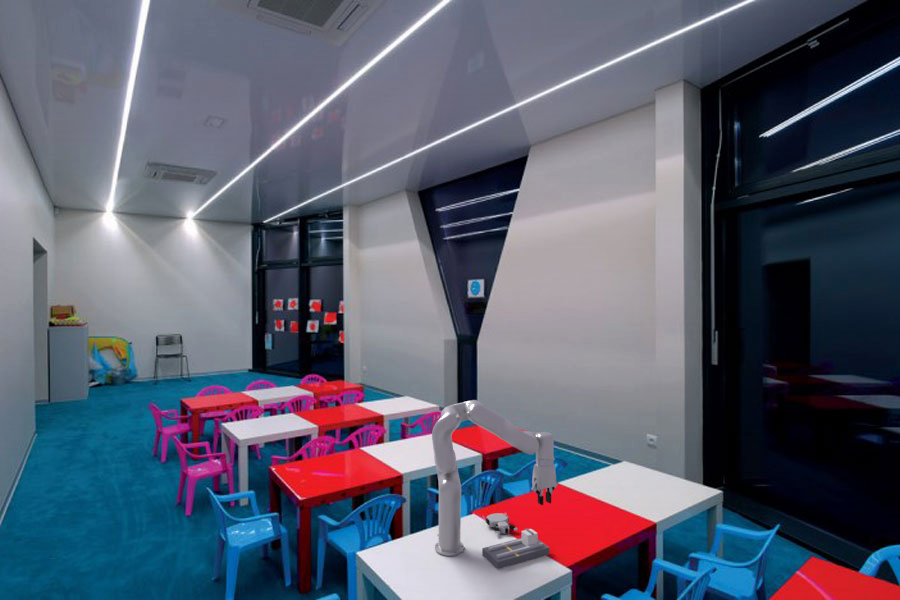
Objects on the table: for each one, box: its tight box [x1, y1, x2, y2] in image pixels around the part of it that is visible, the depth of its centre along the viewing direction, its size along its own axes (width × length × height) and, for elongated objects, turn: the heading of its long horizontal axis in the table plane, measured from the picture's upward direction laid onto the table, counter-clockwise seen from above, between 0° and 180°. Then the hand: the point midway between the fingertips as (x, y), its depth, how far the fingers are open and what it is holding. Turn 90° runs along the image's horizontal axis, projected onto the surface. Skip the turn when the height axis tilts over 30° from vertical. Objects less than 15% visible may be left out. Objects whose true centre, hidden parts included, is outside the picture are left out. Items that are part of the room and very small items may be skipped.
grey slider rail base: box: [481, 537, 550, 570], centre depth 201 cm, size 12×26×4 cm, turn 117°
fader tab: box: [521, 528, 538, 546], centre depth 205 cm, size 5×5×6 cm
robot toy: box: [482, 512, 518, 535], centre depth 225 cm, size 12×4×15 cm
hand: (544, 502), depth 208 cm, fingers open, 3 cm apart
